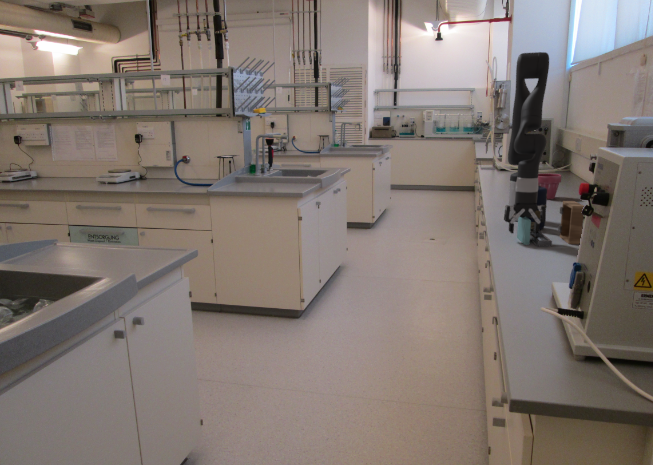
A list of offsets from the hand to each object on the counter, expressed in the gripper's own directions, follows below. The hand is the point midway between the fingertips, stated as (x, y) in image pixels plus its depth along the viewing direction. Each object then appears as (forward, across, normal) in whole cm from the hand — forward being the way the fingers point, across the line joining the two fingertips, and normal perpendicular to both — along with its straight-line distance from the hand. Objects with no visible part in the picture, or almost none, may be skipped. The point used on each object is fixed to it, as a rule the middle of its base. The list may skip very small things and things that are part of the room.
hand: (523, 233), depth 182 cm
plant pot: (+3, -36, -93) cm, 100 cm away
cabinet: (+3, -17, -1) cm, 17 cm away
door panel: (+3, 0, 0) cm, 3 cm away
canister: (+3, -9, -21) cm, 23 cm away
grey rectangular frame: (+3, -6, 0) cm, 6 cm away
